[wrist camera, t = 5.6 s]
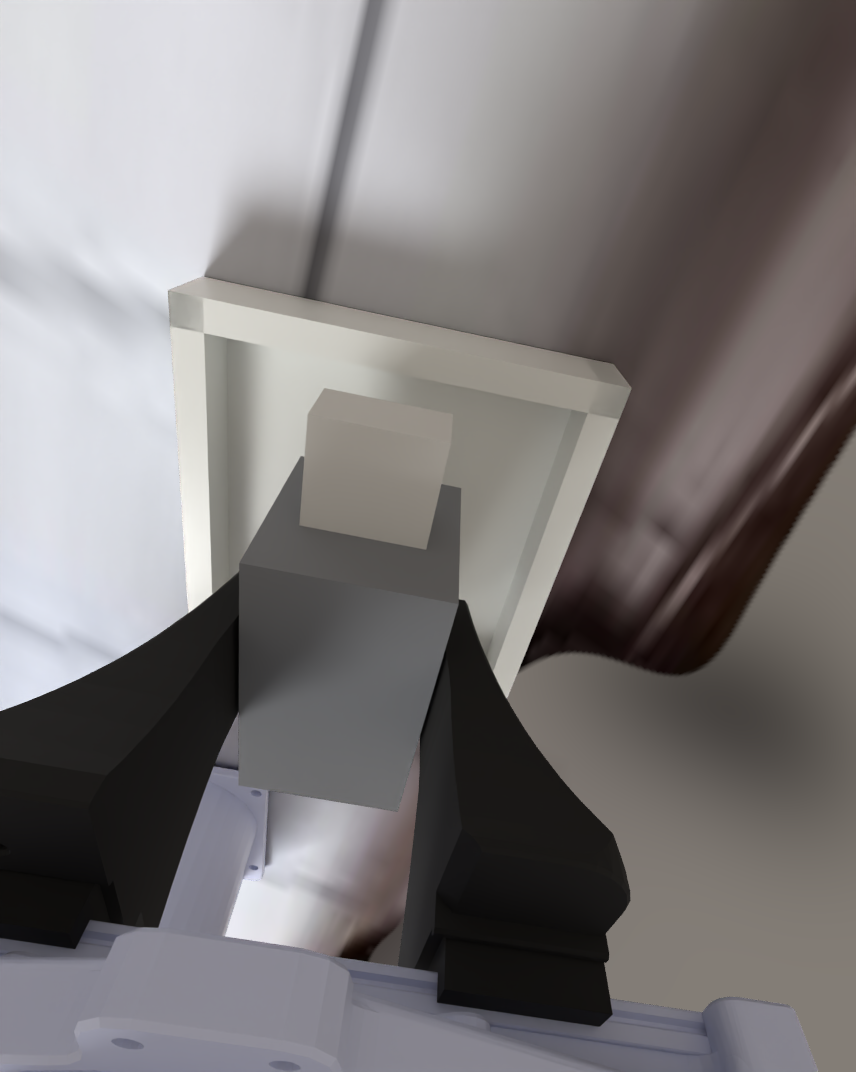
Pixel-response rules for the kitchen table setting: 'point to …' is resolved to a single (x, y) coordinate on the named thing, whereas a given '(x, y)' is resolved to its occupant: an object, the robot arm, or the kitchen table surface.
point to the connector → (349, 604)
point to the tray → (402, 377)
